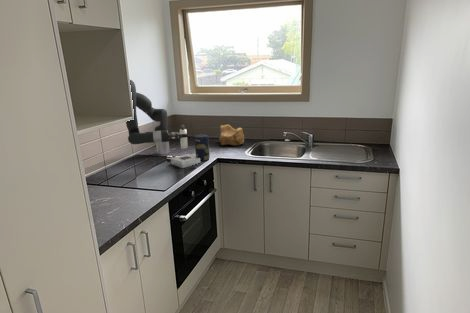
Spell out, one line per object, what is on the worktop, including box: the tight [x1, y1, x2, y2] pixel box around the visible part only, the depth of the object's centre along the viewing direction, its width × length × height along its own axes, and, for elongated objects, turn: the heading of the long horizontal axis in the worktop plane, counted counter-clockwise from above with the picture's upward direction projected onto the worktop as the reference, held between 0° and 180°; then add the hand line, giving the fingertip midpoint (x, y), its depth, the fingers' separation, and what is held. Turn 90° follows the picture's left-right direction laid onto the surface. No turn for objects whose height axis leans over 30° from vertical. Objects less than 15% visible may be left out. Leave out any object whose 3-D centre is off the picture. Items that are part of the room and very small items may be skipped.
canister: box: [194, 133, 211, 161], centre depth 227 cm, size 10×10×18 cm
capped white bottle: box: [179, 124, 189, 150], centre depth 216 cm, size 4×4×15 cm
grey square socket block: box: [170, 153, 201, 169], centre depth 220 cm, size 14×14×4 cm
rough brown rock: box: [218, 124, 245, 147], centre depth 269 cm, size 23×17×15 cm
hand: (187, 134), depth 216 cm, fingers closed on capped white bottle, 4 cm apart
